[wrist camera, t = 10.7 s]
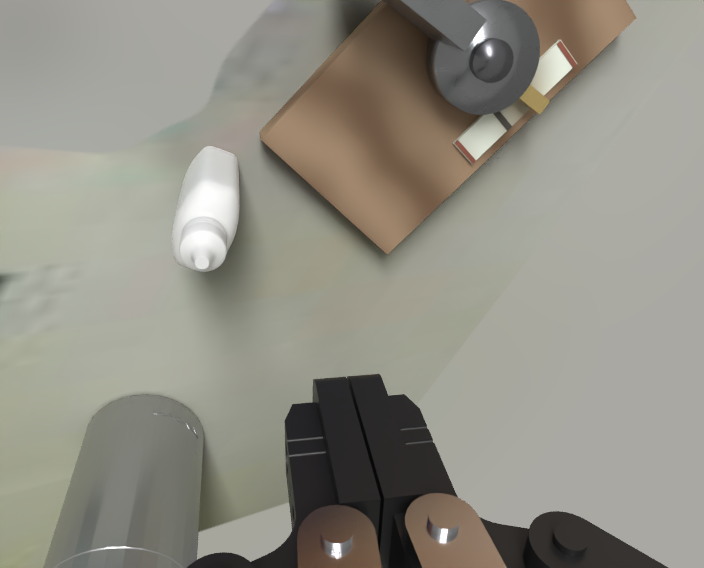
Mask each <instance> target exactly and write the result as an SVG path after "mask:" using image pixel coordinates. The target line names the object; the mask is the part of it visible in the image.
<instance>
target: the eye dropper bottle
mask: <svg viewBox="0 0 704 568" xmlns="http://www.w3.org/2000/svg"><path fill="white" fill-rule="evenodd" d="M239 208H240V205H239V168H238V160H237V158H236V156H235V155H234V154H232V153H230V152H227V151H225V150H222V149H219V148H216V147H213V146H207V147H205V148H203V149H202V150H201V151H200V152H199V153H198V155H197V156H196V157H195V158H194V160H193V161H192V163H191V165H190V166H189V168H188V170H187V172H186V175H185V177H184V180H183V184H182V188H181V193H180V197H179V201H178V206H177V210H176V215H175V220H174V224H173V231H172V249H173V254H174V258H175V260H176V261H177V263H178V264H180V265H181V266H184V267H187V268H190V269H193V270H196V271H199V272H200V271H201V272H205V271H206V272H207V271H212V270H214V269H216V268H218V267H219V266H220V265H221V264H222V263H223V262H224V260H225V258H226V255H227V251H228V249H229V248H230V246H231V244H232V242H233V239H234V237H235V234H236V230H237V226H238V221H239Z"/></svg>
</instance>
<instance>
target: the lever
mask: <svg viewBox="0 0 704 568" xmlns="http://www.w3.org/2000/svg"><path fill="white" fill-rule="evenodd" d="M382 1H383V2H384V3H386V4H387V5H388V6H389V7H391V8H392V9H393V10H395V11H396V12H397V13H398V14H400V15H401V16H402V17H403V18H405V19H406V20H407V21H408V22H410V23H411V24H412V25H414V26H415V27H416V28H417V29H419V30H420V31H421V32H422V33H424V34H425V35H426V36H427V37H429V38H430V40H429V43H428V48H427V56H426V63H427V71H428V75H429V79H430V81H431V83H432V85H433V87H434V89H435V90H436V92H437V93H438V94H439V95H440V96H441V97H442V98H443V99H444V100H446V101H447V102H449V103H450V104H452V105H454V106H455V107H457V108H458V109H460V110H462V111H464V112H467V113H470V114H476V115H487V114H492V113H496V112H499V111H501V110H503V109H505V108H507V107H509V106H510V105H512V104H513V103H514V102H516V101H517V100H518V99H519V100H520V101H521V102H523V103H524V104H525V105H526V106H528V107H529V108H530V109H531V110H533V111H534V112H535V113H538V114H541V113H542V111H543V110H544V109H545V108H546V106H547V105H548V104H549V102H550V100H548V99H547V98H546V97H545V96H543V95H542V94H541V93H540V92H539V91H537V90H536V89H535V88H534V87H532V86H531V85H530V84H531V82H532V80H533V78H534V76H535V73H536V71H537V67H538V63H539V57H540V41H539V36H538V32H537V29H536V26H535V25H534V23H533V21H532V19H531V18H530V16H529V15H528V14H527V13H526V12H525V11H524V10H523V9H522V8H520V7H519V6H518V5H516V4H514V3H512V2H509V1H505V0H466V1H464V0H382Z"/></svg>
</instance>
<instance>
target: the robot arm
mask: <svg viewBox="0 0 704 568" xmlns="http://www.w3.org/2000/svg"><path fill="white" fill-rule="evenodd" d="M203 442H204V434H203V429H202V426H201V424H200V422H199V420H198V418H197V417H196V416H195V415H194V414H193V413H192V411H190V410H189V409H188V408H186V407H185V406H184V405H182V404H180V403H178V402H176V401H174V400H172V399H168V398H165V397H161V396H154V395H134V396H130V397H125V398H121V399H119V400H116V401H114V402H111V403H109V404H108V405H106V406H105V407H103V408H102V409H100V410H99V411H98V412H97V414H96V415H95V416H94V417H93V418H92V420H91V421H90V423H89V425H88V427H87V430H86V434H85V437H84V440H83V443H82V446H81V450H80V453H79V456H78V459H77V462H76V465H75V468H74V471H73V474H72V478H71V481H70V484H69V487H68V490H67V494H66V497H65V500H64V503H63V506H62V510H61V513H60V516H59V519H58V522H57V525H56V529H55V532H54V535H53V538H52V541H51V545H50V548H49V551H48V554H47V557H46V561H45V564H44V567H43V568H668V567H666V566H664V565H663V564H661V563H659V562H658V561H656V560H654V559H652V558H650V557H649V556H647V555H645V554H644V553H642V552H640V551H638V550H637V549H635V548H633V547H632V546H630V545H628V544H626V543H624V542H623V541H621V540H619V539H618V538H616V537H614V536H612V535H611V534H609V533H607V532H605V531H604V530H602V529H600V528H599V527H597V526H595V525H593V524H592V523H590V522H588V521H587V520H585V519H583V518H581V517H579V516H576V515H573V514H570V513H566V512H559V511H558V512H548V513H544V514H542V515H540V516H538V517H537V518H535V519H534V521H533V522H532V524H531V525H530V529H527V528H521V527H514V526H508V525H502V524H497V523H492V522H490V521H487V520H484V519H482V518H480V517H479V516H478V514H477V513H476V511H475V510H474V509H473V508H472V507H471V506H470V505H469V504H468V503H466V502H465V501H463V500H461V499H460V498H458V497H457V495H456V493H455V490H454V488H453V486H452V483H451V481H450V479H449V476H448V474H447V472H446V469H445V467H444V465H443V462H442V460H441V458H440V455H439V453H438V451H437V448H436V446H435V444H434V443H433V439H432V437H431V434H430V432H429V430H428V429H427V425H426V423H425V420H424V418H423V416H422V413H421V411H420V409H419V408H418V407H417V406H416V405H415V404H414V403H413V402H412V401H411V400H410V399H409V398H408V397H407V396H405V395H404V394H403V395H392V396H388V394H387V391H386V389H385V386H384V383H383V380H382V378H381V376H380V374H373V375H360V376H348V377H347V378H346V377H337V378H325V379H314V380H313V403H302V404H292V407H291V409H290V411H289V413H288V415H287V417H286V419H285V449H286V476H287V485H288V494H289V504H290V513H291V522H292V532H291V534H290V536H289V537H288V539H287V540H286V541H285V542H284V543H283V544H282V545H281V546H280V547H279V548H277V549H276V550H275V551H273V552H271V553H269V554H267V555H265V556H263V557H261V558H259V559H256V560H254V561H252V562H250V561H248V560H247V559H245V558H244V557H242V556H239V555H237V554H233V553H214V554H210V555H207V556H204V557H202V558H200V559H198V560H197V546H198V529H199V512H200V495H201V478H202V460H203Z"/></svg>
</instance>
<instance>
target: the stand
mask: <svg viewBox="0 0 704 568" xmlns="http://www.w3.org/2000/svg"><path fill="white" fill-rule="evenodd" d="M464 1H466V0H464ZM505 1H509V2H512V3H514V4H516V5H518V6H519V7H520V8H522V9H523V10H524V11H525V12H526V13H527V14H528V15H529V16H530V18H531V19H532V21H533V23H534V25H535V26H536V29H537V32H538V36H539V41H540V57H539V63H538V67H537V71H536V73H535V76H534V78H533V80H532V82H531V84H530V85H531V86H532V87H534V88H535V89H536V90H537V91H539V92H540V93H541V94H542V95H543V96H545V97H546V98H547V99H548V100H551V99H552V98H553V97H554V96H555V95H556V94H557V93H558V92H559V91H560V90H561V89H562V88H563V87H564V86H565V85H566V84H567V83H568V82H570V81H571V80H572V79H573V78H574V77H575V76H576V75H577V74H578V73H579V72H580V71H581V70H582V69H583V68H584V67H585V66H586V65H587V64H588V63H590V62H591V61H592V60H593V59H594V58H595V57H596V56H597V55H598V54H599V53H600V52H601V51H602V50H603V49H604V48H605V47H606V46H607V45H608V44H610V43H611V42H612V41H613V40H614V39H615V38H616V37H617V36H618V35H619V34H620V33H621V32H622V31H623V30H624V29H625V28H626V27H627V26H628V25H630V24H631V23H632V22H633V21H634V20H635V19H636V16H635V15H634V13H633V11H632V10H631V8H630V6H629V5H628V3H627V1H626V0H505ZM429 40H430V38H429V37H427V36H426V35H425V34H424V33H422V32H421V31H420V30H419V29H417V28H416V27H415V26H414V25H412V24H411V23H410V22H408V21H407V20H406V19H405V18H403V17H402V16H401V15H400V14H398V13H397V12H396V11H395V10H393V9H392V8H391V7H389V6H388V5H387V4H386V3H384V2H383V1H382V0H381V1H380V2H379V4H378V5H377V6H376V7H375V8H374V9H373V10H372V11H371V12H370V13H369V14H368V15H367V17H366V18H365V19H364V20H363V21H362V22H361V23H360V24H359V25H358V26H357V27H356V28H355V30H354V31H353V32H352V33H351V34H350V35H349V36H348V37H347V38H346V39H345V40H344V41H343V43H342V44H341V45H340V46H339V47H338V48H337V49H336V50H335V51H334V52H333V53H332V54H331V55H330V57H329V58H328V59H327V60H326V61H325V62H324V63H323V64H322V65H321V66H320V67H319V68H318V70H317V71H316V72H315V73H314V74H313V75H312V76H311V77H310V78H309V79H308V80H307V81H306V83H305V84H304V85H303V86H302V87H301V88H300V89H299V90H298V91H297V92H296V93H295V94H294V95H293V97H292V98H291V99H290V100H289V101H288V102H287V103H286V104H285V105H284V106H283V107H282V108H281V110H280V111H279V112H278V113H277V114H276V115H275V116H274V117H273V118H272V119H271V120H270V121H269V123H268V124H267V125H266V126H265V127H264V128H263V129H262V130H261V131H260V137H261V140H262V141H263V142H264V143H265V144H266V145H267V146H268V147H269V148H271V149H272V150H273V151H274V152H275V153H276V154H277V155H278V156H279V157H280V158H282V159H283V160H284V161H285V162H286V163H287V164H288V165H289V166H290V167H291V168H293V169H294V170H295V171H296V172H297V173H298V174H299V175H300V176H301V177H302V178H304V179H305V180H306V181H307V182H308V183H309V184H310V185H311V186H312V187H313V188H315V189H316V190H317V191H318V192H319V193H320V194H321V195H322V196H323V197H324V198H326V199H327V200H328V201H329V202H330V203H331V204H332V205H333V206H334V207H335V208H337V209H338V210H339V211H340V212H341V213H342V214H343V215H344V216H345V217H346V218H348V219H349V220H350V221H351V222H352V223H353V224H354V225H355V226H356V227H357V228H359V229H360V230H361V231H362V232H363V233H364V234H365V235H366V236H367V237H368V238H370V239H371V240H372V241H373V242H374V243H375V244H376V245H377V246H378V247H379V248H381V249H382V250H383V251H384V252H385V253H386V254H388V253H390V252H391V251H392V250H393V249H394V248H395V247H396V246H397V245H398V244H399V243H400V242H401V241H402V240H403V239H404V238H405V237H406V236H407V235H408V234H410V233H411V232H412V231H413V230H414V229H415V228H416V227H417V226H418V225H419V224H420V223H421V222H422V221H423V220H424V219H425V218H426V217H427V216H428V215H430V214H431V213H432V212H433V211H434V210H435V209H436V208H437V207H438V206H439V205H440V204H441V203H442V202H443V201H444V200H445V199H446V198H447V197H448V196H450V195H451V194H452V193H453V192H454V191H455V190H456V189H457V188H458V187H459V186H460V185H461V184H462V183H463V182H464V181H465V180H466V179H467V178H468V177H470V176H471V175H472V174H473V173H474V172H475V171H476V170H477V169H478V168H479V167H480V166H481V165H482V164H483V163H484V162H485V161H486V160H487V159H488V158H490V157H491V156H492V155H493V154H494V153H495V152H496V151H497V150H498V149H499V148H500V147H501V146H502V145H503V144H504V143H505V142H506V141H507V140H508V139H510V138H511V137H512V136H513V135H514V134H515V133H516V132H517V131H518V130H519V129H520V128H521V127H522V126H523V125H524V124H525V123H526V122H527V121H528V120H530V119H531V118H532V117H533V116H534V115H535V114H536V113H535V112H534V111H533V110H531V109H530V108H529V107H528V106H526V105H525V104H524V103H523V102H521V101H520V100H519V99H518V100H517V101H516V102H514V103H513V104H512V105H510V106H509V107H507V108H505V109H503V110H501V111H499V112H496V113H492V114H487V115H476V114H470V113H467V112H464V111H462V110H460V109H458V108H457V107H455V106H454V105H452V104H450V103H449V102H447V101H446V100H444V99H443V98H442V97H441V96H440V95H439V94H438V93H437V92H436V90H435V89H434V87H433V85H432V83H431V81H430V79H429V75H428V71H427V63H426V56H427V48H428V43H429Z"/></svg>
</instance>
